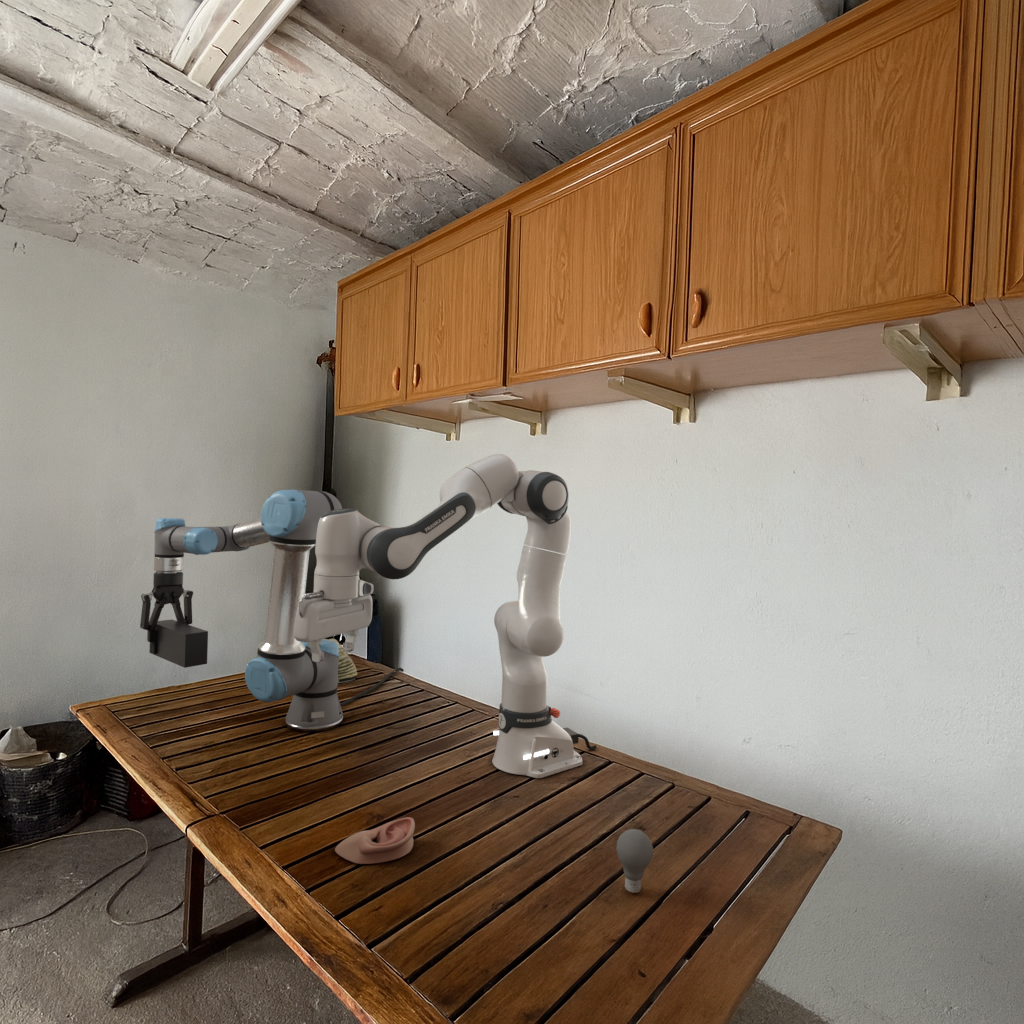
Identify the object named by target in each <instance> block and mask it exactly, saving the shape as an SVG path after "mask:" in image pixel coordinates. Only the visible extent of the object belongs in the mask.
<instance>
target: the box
mask: <svg viewBox="0 0 1024 1024" xmlns="http://www.w3.org/2000/svg"><path fill="white" fill-rule="evenodd" d="M155 630H156V631H158V636H157V654H153V653H150V649H149V650H148V651H149V654H151V655H153V656H156V657H158V658H160V659H162V660H165V661H168V662H170V663H173V664H175V665H177V666H179V667H182V668H184V669H185V668H192V667H199V666H203V665H207V664H208V650H209V649H208V648H209V647H208V646H209V645H208V643H209V631H208V630H206V629H202V628H200V627H196V626H193V625H191V624H189V625H187V624H184V623H181V622H178V621H177V620H174V619H172V618H171V619H163V620H158V622H157V625H156V628H155Z"/></svg>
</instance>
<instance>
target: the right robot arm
mask: <svg viewBox="0 0 1024 1024" xmlns="http://www.w3.org/2000/svg"><path fill="white" fill-rule="evenodd" d="M569 499H570V498H569V489H568V484H567V482H566V481H565V479H564V478H562V477H561V476H559V475H558V474H557V473H554V472H550V471H542V470H541V471H538V470H534V469H533V470H529V469H528V470H518V467H517V465H516V463H515V461H513V460H512V459H511V458H510V457H509V456H508V455H505V454H503V453H494V454H492V455H491V454H490V455H488V456H486V457H483V458H480V459H478V460H476V461H474V462H472V463H470V464H468V465H466V466H464V467H463V468H461V469H459V470H458V471H456V472H455V473H453V474H452V475H451V476H450V477H448V478H447V479H446V480H445V481H444V482H443V483H442V484H441V486H440V490H439V500H440V503H439V504H438V505H437V506H436V507H434V508H433V509H432V510H430V511H428V512H427V513H425V515H423V516H421V517H419V518H418V519H417V520H416V521H414V522H412V523H411V524H408V525H406V526H400V527H389V526H386V525H382V524H381V523H378V522H376V521H374V520H372V519H369V518H368V517H366V516H365V515H363V514H362V513H361V512H359V510H358V509H356V508H342V509H338V510H332V511H328V512H326V513H324V514H323V515H322V516H321V517H320V519H319V522H318V527H317V534H316V545H315V546H314V553H315V558H316V565H315V568H314V572H313V573H314V574H313V591H312V592H305V595H304V597H302V599H301V600H300V601H299V606H298V608H297V612H296V618H295V625H294V637H295V639H296V640H297V641H301V642H308V645H309V648H310V650H311V652H312V661H314V662H319V661H322V660H324V652H322V651H321V649H320V646H319V645H321V639H324V638H325V639H328V638H330V637H335V636H338V635H342V634H345V633H346V634H347V636H346V638H345V641H344V642H343V643H342V647H343V651H344V652H347V653H350V652H354V650H355V643H356V640H357V638H358V636H359V631H360V630H361V629H365V628H368V627H369V626H370V624H371V623H372V620H373V619H372V618H373V597H372V594H373V593H374V590H375V589H374V587H375V586H374V584H373V583H372V582H369V581H365V580H363V579H360V571H361V570H362V569H368V570H369V571H372V572H375V573H376V574H378V575H379V576H381V577H383V578H384V579H388V580H400V579H404V578H406V577H408V576H410V575H411V574H412V573H414V571H415V570H416V569H417V568H418V566H419V565H420V563H421V562H422V561H423V559H424V557H426V555H427V554H428V553H429V552H430V551H431V550H432V549H433V548H435V547H436V546H437V545H439V544H440V543H442V542H444V540H446V539H447V538H448V537H450V536H451V535H452V534H453V533H455V532H456V531H457V530H459V529H460V528H462V527H463V526H464V525H465V524H467V523H469V522H470V521H472V520H474V519H475V518H477V517H479V516H481V515H482V514H484V513H486V512H487V511H488V510H490V509H491V508H493V507H494V506H496V505H497V506H498V507H499V508H500V509H501V510H503V511H504V512H506V513H508V514H511V515H518V516H520V517H521V516H522V517H525V519H526V521H527V523H526V524H527V530H526V535H525V538H524V541H523V545H522V549H521V554H520V558H519V562H518V568H517V570H516V581H517V586H518V587H517V589H518V596H517V597H518V599H517V600H511V601H506V602H504V603H502V604H501V605H500V606H499V607H498V608H497V610H496V612H495V614H494V618H493V619H494V620H493V622H494V627H495V629H496V633H497V638H498V639H497V640H498V647H499V649H498V650H499V656H500V663H501V676H502V677H501V702H500V704H499V710H498V730H493V736H497V741H496V746H495V750H494V752H493V753H494V754H493V756H492V759H491V762H492V765H493V766H494V767H495V768H496V769H498V770H500V771H502V772H504V773H508V774H513V775H519V776H527V777H531V778H533V779H534V778H535V779H542V778H546V777H548V776H552V775H555V774H558V773H561V772H565V771H568V770H570V769H574V768H577V767H580V766H583V757H582V756H581V754H580V753H578V752H577V750H575V749H574V745H576V744H579V738H580V739H582V740H583V741H584V742H585V746H586V748H587V749H588V750H589V751H593V750H596V749H597V745H596V744H594V745H590V741H589V739H588V738H587V736H585V735H584V734H581V733H577V732H576V731H575V730H572V729H571V728H569V727H561V726H560V725H559V724H558V723H557V722H555V720H553V718H555V719H558V718H560V716H561V711H560V709H558V708H556V707H551V706H550V705H548V704H547V698H548V673H547V670H546V667H545V663H544V660H543V657H544V658H546V657H550V656H552V655H554V654H556V653H557V652H558V650H559V649H560V648H561V647H562V645H563V642H564V639H565V631H564V628H563V625H562V620H561V587H562V579H563V576H564V570H565V566H566V562H567V557H568V553H569V550H570V549H569V548H570V543H571V534H572V533H571V531H572V519H571V516H570V514H569V513H568V512H567V511H568V505H569ZM552 717H553V718H552Z"/></svg>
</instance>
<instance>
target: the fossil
mask: <svg viewBox="0 0 1024 1024" xmlns="http://www.w3.org/2000/svg"><path fill="white" fill-rule="evenodd" d="M322 640H329V641H333V642H335V643H337V645H338V647H339V664H338V684H341V683H342V684H343V683H347V682H352V681H355V680H356V679H357V677H358V675H359V674H358V671H357V670H358V669H357V667H356V664H355V663H354V661H353V659H352V658H351V657H350V656H349V652H344V651H343V644H341V643H339V641H338V640H337V639H335V638H329V639H328V638H324V639H322Z"/></svg>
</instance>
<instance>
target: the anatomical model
mask: <svg viewBox="0 0 1024 1024" xmlns="http://www.w3.org/2000/svg"><path fill="white" fill-rule="evenodd" d="M415 828H416V823H415V820H414V818H413V817H410V816H409V817H402V818H398V819H395V820H392V821H389V822H386V823H384V824H382V825H380V826H377V827H375V828H372V829H368V830H361V831H358V832H356V833H353V834H352V835H350V836H348V837H346V838H345V839H343V840H342V841H340V843H338V844H337V845H336V846H335V848H334V852H335V853H336V854H337V855H338V856H340V857H341V858H343V859H344V860H347V861H348V862H351V863H353V864H357V865H369V864H370V865H371V864H380V863H385V862H390V861H394V860H398V859H400V858H402V857H404V856H407V855H408V854H409V853H410V852H411V851H412V849H413V847H414V837H413V835H414V833H415Z"/></svg>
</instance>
